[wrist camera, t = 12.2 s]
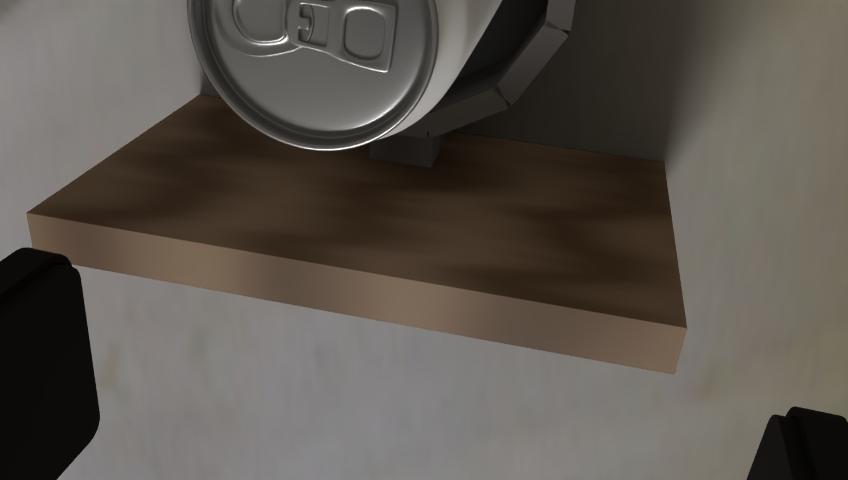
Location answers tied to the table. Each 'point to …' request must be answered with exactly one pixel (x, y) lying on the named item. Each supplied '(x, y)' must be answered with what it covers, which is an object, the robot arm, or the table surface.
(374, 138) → the can
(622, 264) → the bracket
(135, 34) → the table surface
